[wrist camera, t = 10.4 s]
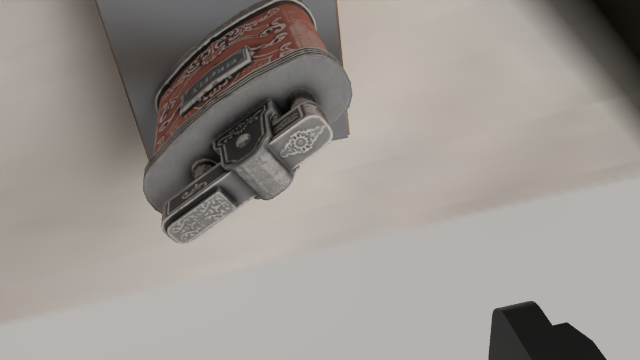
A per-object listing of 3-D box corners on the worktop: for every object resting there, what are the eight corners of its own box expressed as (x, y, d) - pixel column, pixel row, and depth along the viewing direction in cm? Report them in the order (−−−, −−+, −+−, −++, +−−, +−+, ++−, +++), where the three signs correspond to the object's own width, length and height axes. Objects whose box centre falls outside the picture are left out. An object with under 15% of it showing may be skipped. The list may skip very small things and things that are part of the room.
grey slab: (98, -59, 26) (79, -35, 22) (311, -92, 27) (332, -75, 23) (158, 131, 31) (152, 178, 27) (332, 98, 32) (352, 140, 28)
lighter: (283, -28, 23) (331, 60, 15) (328, 36, 25) (394, 144, 17) (138, 88, 25) (108, 225, 16) (190, 139, 26) (187, 286, 18)
